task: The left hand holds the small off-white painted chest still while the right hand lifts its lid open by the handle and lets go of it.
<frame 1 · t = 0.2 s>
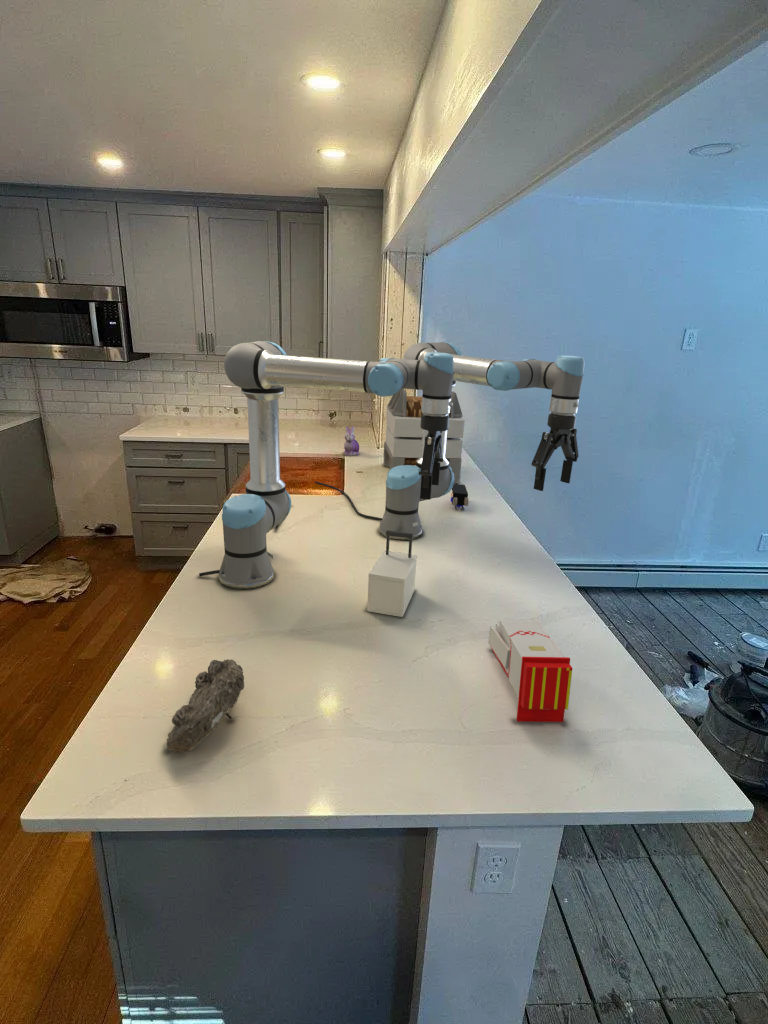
left hand: (429, 491, 155), 28 cm above the counter, tool pointing down, fingers open, 13 cm apart
right hand: (551, 486, 166), 28 cm above the counter, tool pointing down, fingers open, 13 cm apart
chest: (391, 600, 154), on the counter
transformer: (419, 473, 275), on the counter
toy: (521, 679, 123), on the counter
lid: (394, 553, 150), point 14 cm above the counter, hinge at 0.0°
figurine character: (458, 506, 231), on the counter
feather: (282, 518, 209), on the counter
figurine: (351, 454, 305), on the counter
fossil: (212, 717, 108), on the counter
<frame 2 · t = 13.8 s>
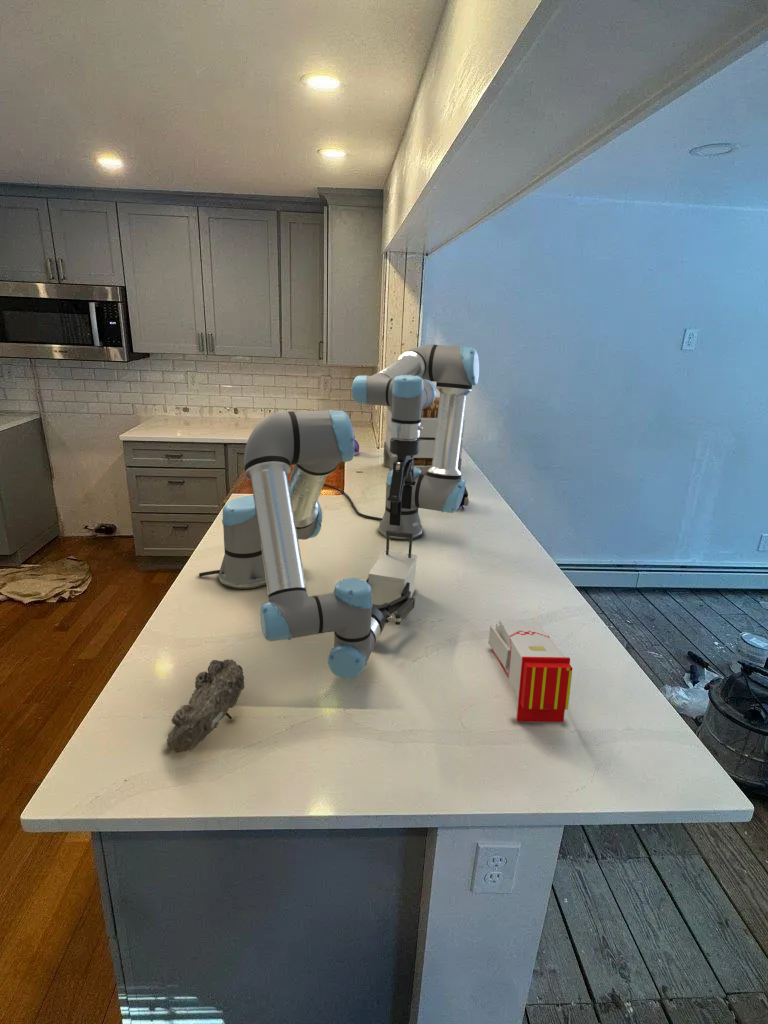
left hand: (388, 584, 147), 7 cm above the counter, tool horizontal, fingers closed on chest, 9 cm apart
right hand: (400, 516, 152), 23 cm above the counter, tool pointing down, fingers open, 13 cm apart
chest: (391, 600, 154), on the counter, touching left hand
everything else where it was.
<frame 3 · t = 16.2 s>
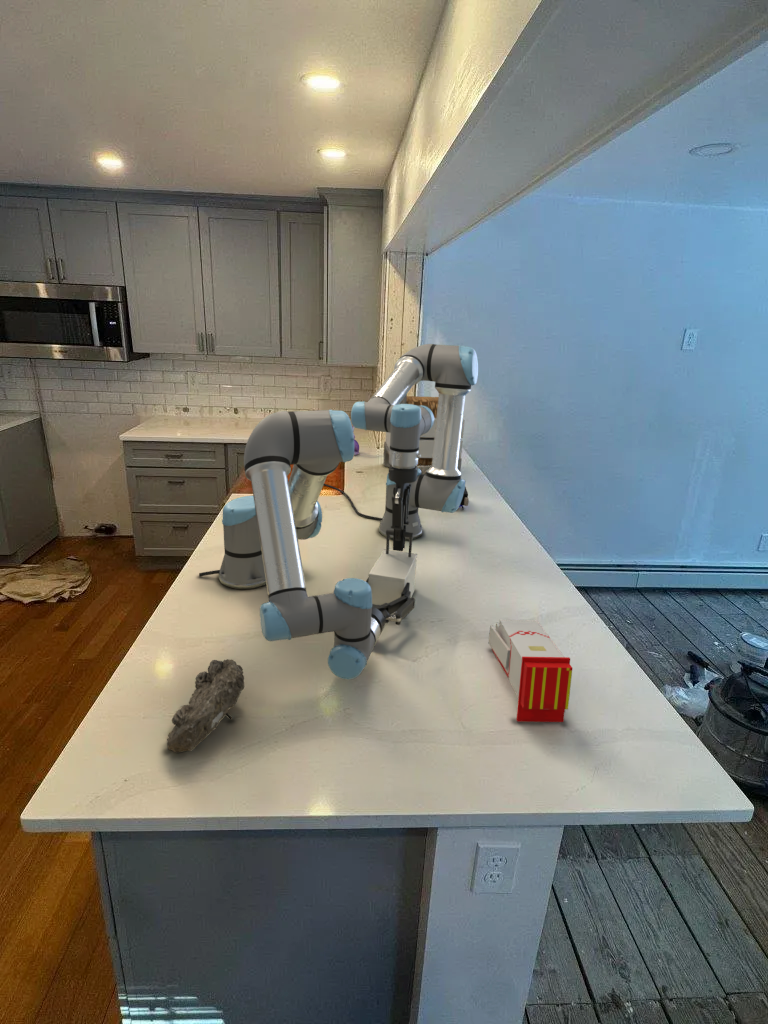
left hand: (388, 584, 147), 7 cm above the counter, tool horizontal, fingers closed on chest, 9 cm apart
right hand: (398, 548, 155), 13 cm above the counter, tool pointing down, fingers closed on lid, 1 cm apart
chest: (391, 600, 154), on the counter, touching left hand
lid: (394, 553, 150), point 14 cm above the counter, hinge at 1.2°, touching right hand
everything else where it was.
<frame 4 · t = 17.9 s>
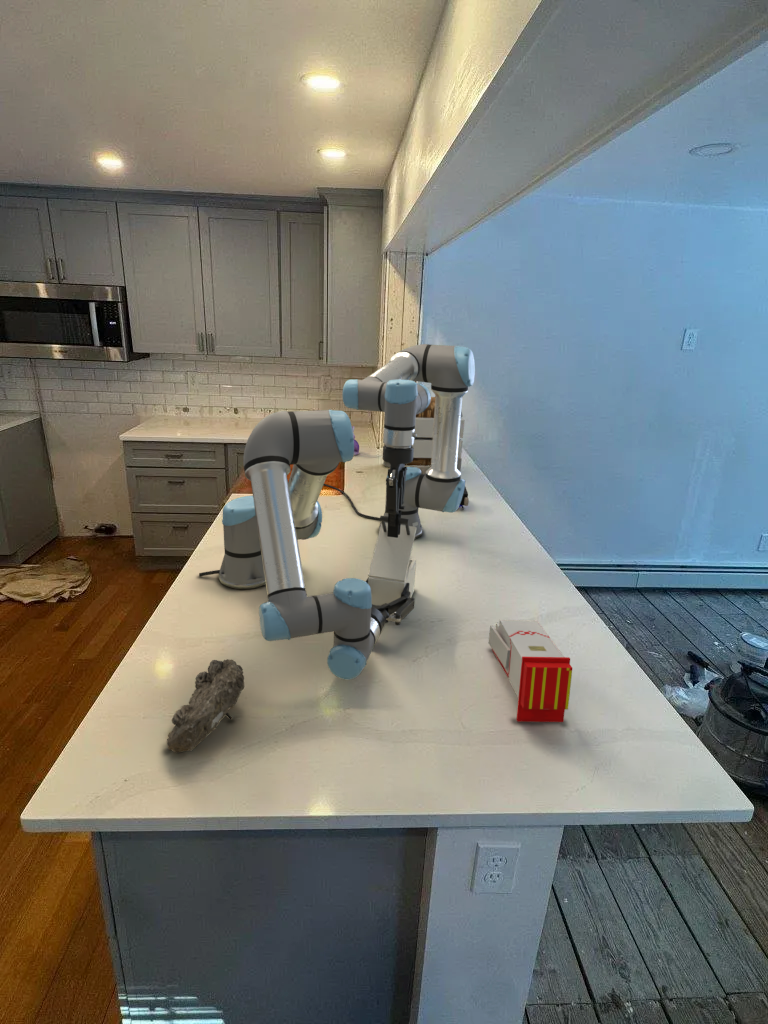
left hand: (388, 584, 147), 7 cm above the counter, tool horizontal, fingers closed on chest, 9 cm apart
right hand: (393, 535, 146), 20 cm above the counter, tool pointing down, fingers closed on lid, 1 cm apart
chest: (391, 600, 154), on the counter, touching left hand
lid: (391, 544, 144), point 18 cm above the counter, hinge at 38.8°, touching right hand
everything else where it was.
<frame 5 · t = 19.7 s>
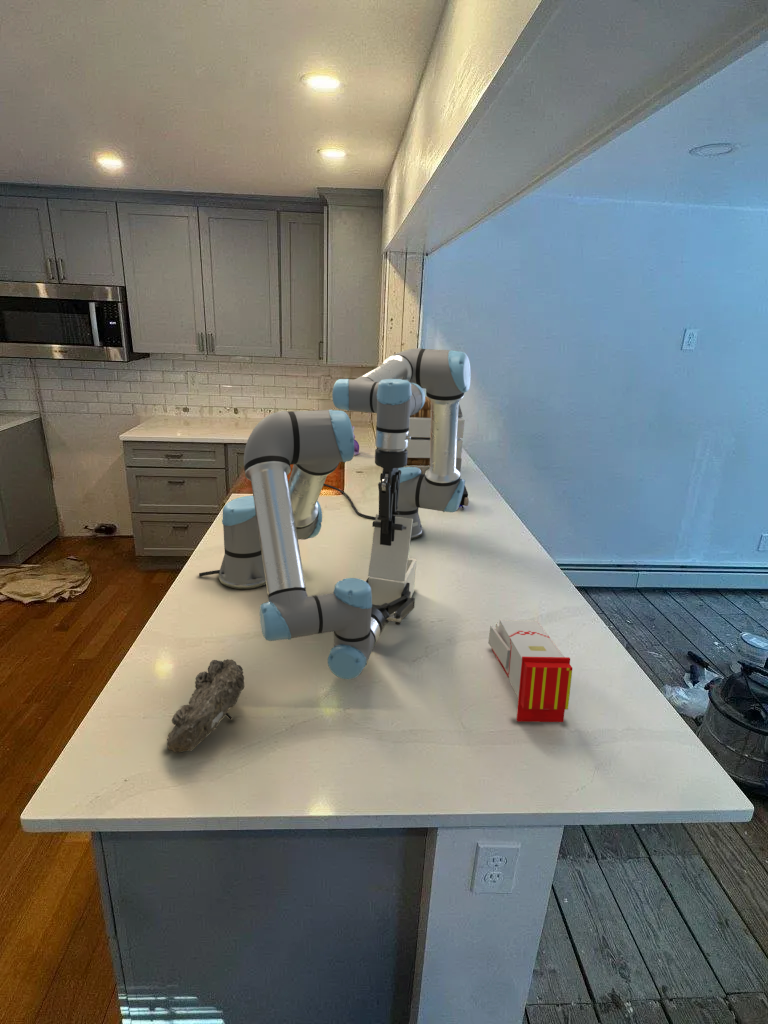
left hand: (388, 584, 147), 7 cm above the counter, tool horizontal, fingers closed on chest, 9 cm apart
right hand: (387, 542, 139), 21 cm above the counter, tool pointing down, fingers open, 2 cm apart
chest: (391, 600, 154), on the counter, touching left hand
lid: (387, 547, 140), point 19 cm above the counter, hinge at 68.1°
everything else where it was.
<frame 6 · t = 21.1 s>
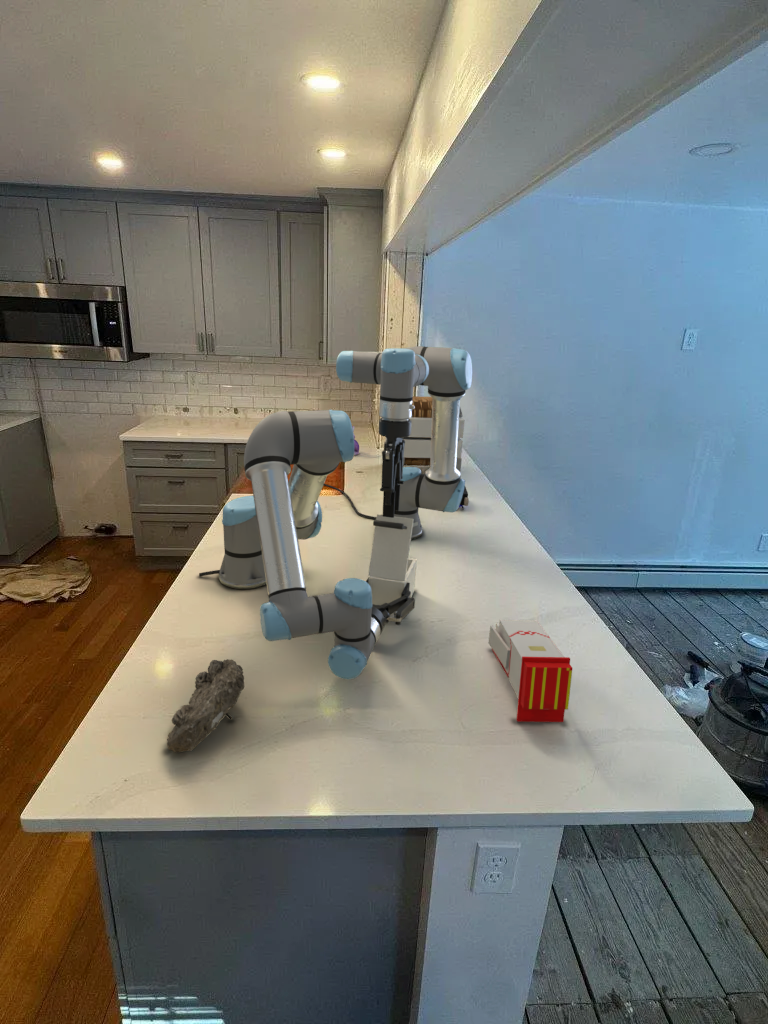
left hand: (388, 584, 147), 7 cm above the counter, tool horizontal, fingers closed on chest, 9 cm apart
right hand: (390, 512, 139), 28 cm above the counter, tool pointing down, fingers open, 4 cm apart
chest: (391, 600, 154), on the counter, touching left hand
lid: (388, 547, 141), point 19 cm above the counter, hinge at 66.0°
everything else where it was.
when the left hand's fingers open (7 cm above the counter, at t = 23.8 s): chest stays where it is, on the counter.
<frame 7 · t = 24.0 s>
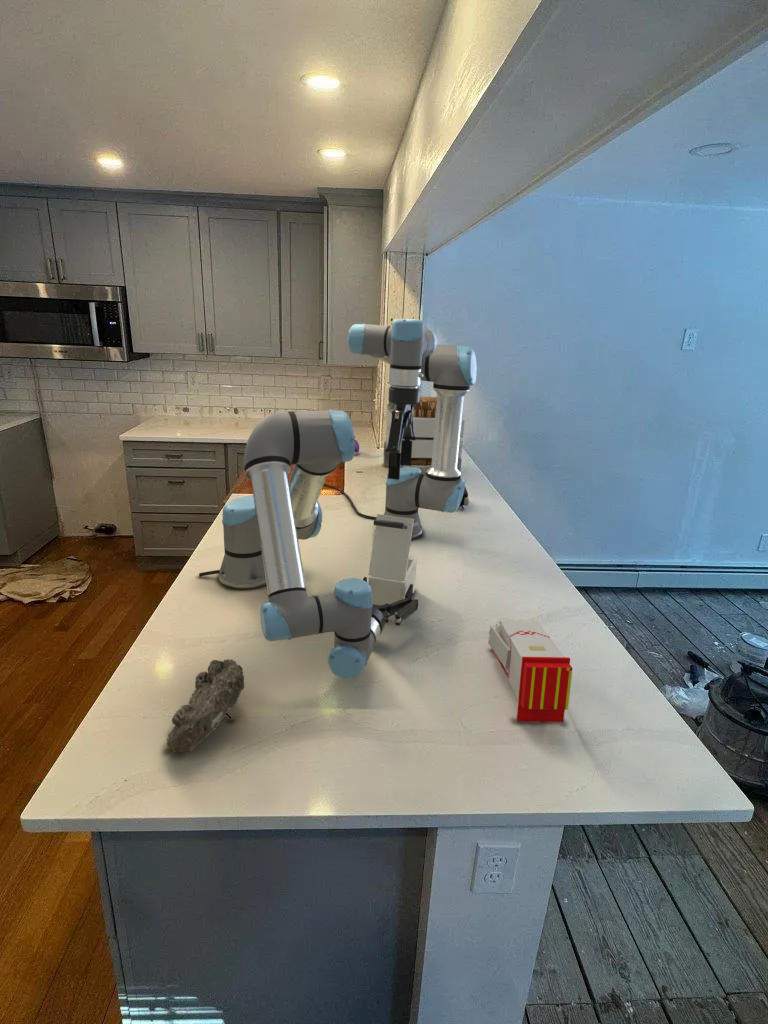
left hand: (388, 585, 147), 7 cm above the counter, tool horizontal, fingers open, 11 cm apart
right hand: (399, 471, 143), 36 cm above the counter, tool pointing down, fingers open, 13 cm apart
chest: (391, 600, 154), on the counter
lid: (388, 546, 141), point 19 cm above the counter, hinge at 65.5°
everything else where it was.
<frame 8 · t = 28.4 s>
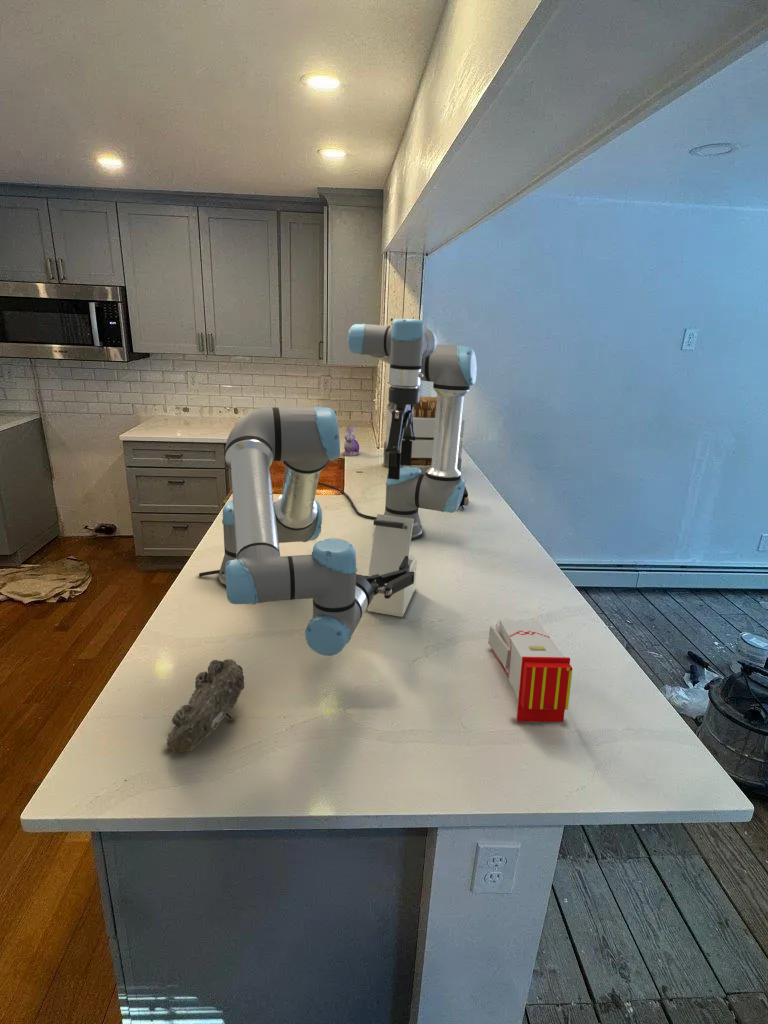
left hand: (377, 557, 131), 21 cm above the counter, tool horizontal, fingers open, 13 cm apart
right hand: (399, 471, 143), 36 cm above the counter, tool pointing down, fingers open, 13 cm apart
nothing on the counter moved.
at the end: lid at +66° (first picture: +0°); the left hand is holding nothing; the right hand is holding nothing; chest tilted 0°; chest never tilted more than 1° during the clip; chest moved 0.1 cm from its start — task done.
